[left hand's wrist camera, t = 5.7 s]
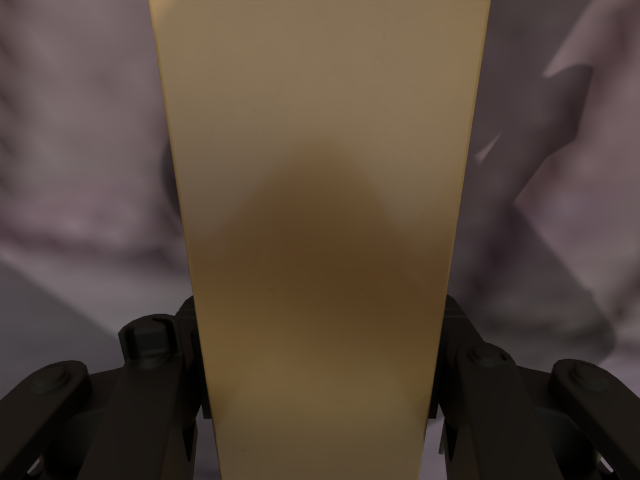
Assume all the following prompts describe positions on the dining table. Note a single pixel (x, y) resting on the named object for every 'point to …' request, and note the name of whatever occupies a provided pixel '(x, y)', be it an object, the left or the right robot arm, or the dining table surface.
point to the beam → (319, 218)
